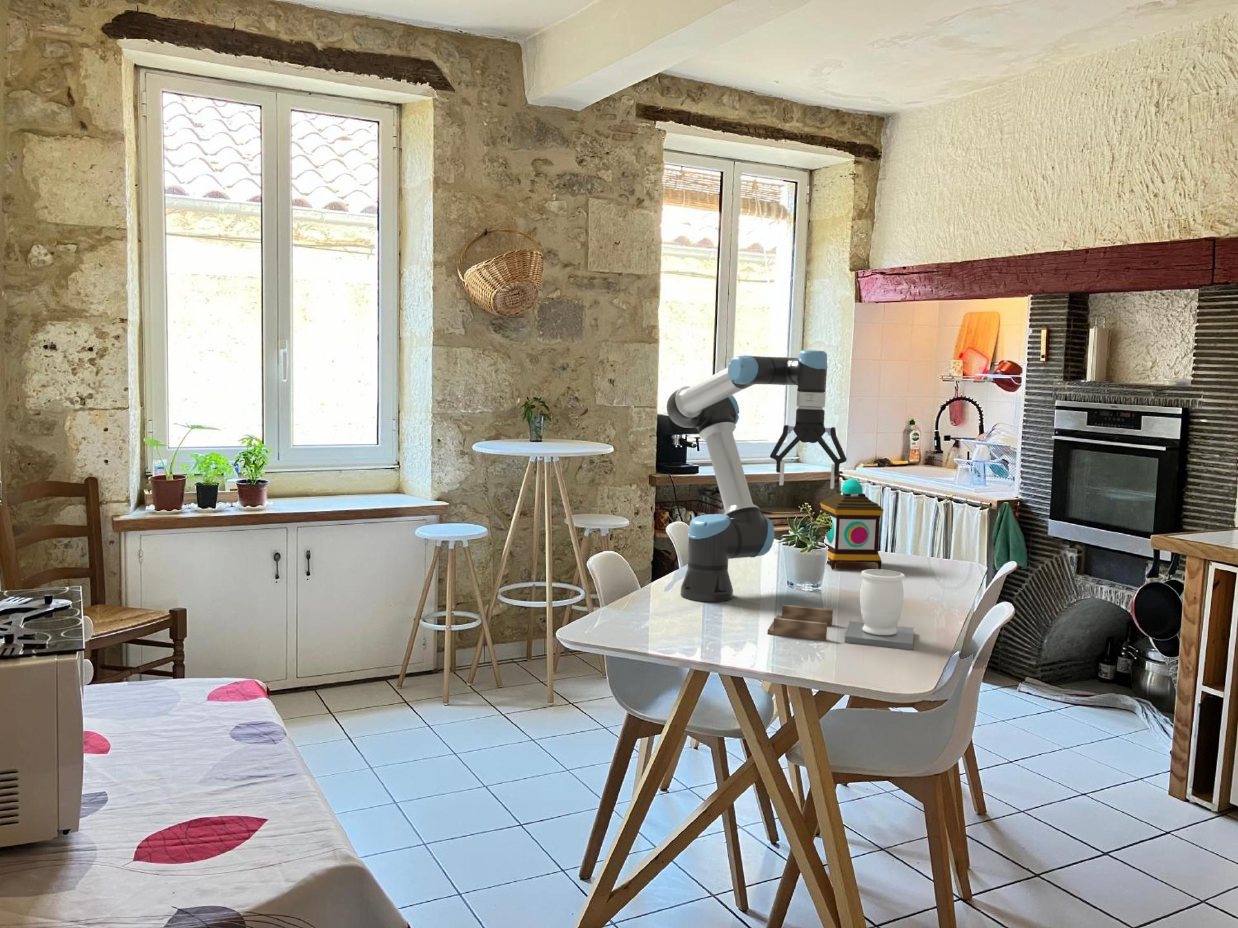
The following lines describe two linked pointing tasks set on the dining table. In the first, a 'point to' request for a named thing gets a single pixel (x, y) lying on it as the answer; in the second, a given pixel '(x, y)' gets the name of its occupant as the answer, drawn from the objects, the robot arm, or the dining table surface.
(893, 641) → the plate
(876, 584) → the jar
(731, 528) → the robot arm
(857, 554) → the decorative lantern
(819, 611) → the brown wooden u-shaped frame
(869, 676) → the dining table surface
